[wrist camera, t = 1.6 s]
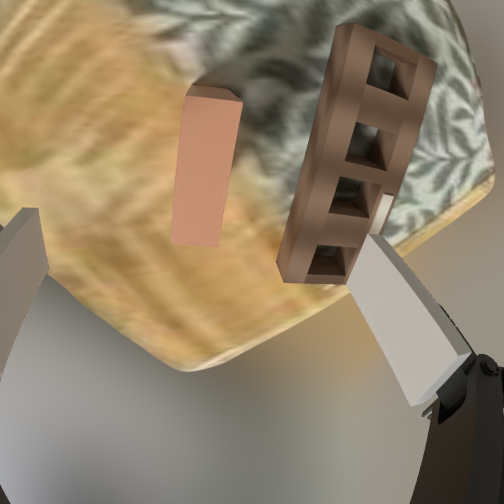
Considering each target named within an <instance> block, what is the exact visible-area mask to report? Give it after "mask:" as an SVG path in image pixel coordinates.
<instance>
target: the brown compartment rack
mask: <svg viewBox="0 0 504 504" xmlns="http://www.w3.org/2000/svg"><path fill="white" fill-rule="evenodd" d="M373 53H376V54H379V55H381V56H383V57H386V58H388V59H390V60H392V61H395V62H396V64H395V68H394V72H393V76H392V80H391V84H390V88H389V92H386V91H384V90H381V89H379V88H376V87H373V86H371V85H368V84H366V82H367V78H368V74H369V70H370V65H371V61H372V57H373ZM436 67H437V63H436V62H434V61H433V60H431V59H429V58H427V57H426V56H424V55H422V54H420V53H418V52H417V51H415V50H413V49H411V48H409V47H407V46H405V45H403V44H401V43H399V42H397V41H395V40H393V39H391V38H389V37H387V36H384V35H382V34H380V33H378V32H375V31H373V30H371V29H368V28H366V27H364V26H361V25H359V24H356V23H351V24H345V25H339V26H336V30H335V34H334V39H333V43H332V47H331V52H330V56H329V60H328V65H327V69H326V73H325V77H324V81H323V86H322V90H321V94H320V98H319V102H318V106H317V110H316V114H315V118H314V122H313V126H312V130H311V134H310V138H309V142H308V146H307V150H306V154H305V158H304V161H303V165H302V169H301V173H300V177H299V180H298V184H297V188H296V192H295V195H294V199H293V203H292V207H291V210H290V214H289V218H288V221H287V225H286V228H285V232H284V236H283V239H282V243H281V246H280V250H279V254H278V257H277V261H276V263H277V266H278V269H279V271H280V274H281V277H282V280H283V282H284V283H308V284H345V285H346V283H347V281H348V279H349V276H350V274H351V272H352V269H353V267H354V265H355V263H356V260H357V258H358V255H359V253H360V251H361V248H362V246H363V243H364V241H365V239H366V236H367V234H377V235H381V234H382V232H383V229H384V227H385V224H386V222H387V220H388V217H389V215H390V212H391V210H392V207H393V205H394V202H395V199H396V197H397V194H398V192H399V189H400V186H401V183H402V181H403V178H404V175H405V172H406V170H407V167H408V164H409V161H410V158H411V155H412V152H413V149H414V146H415V143H416V140H417V137H418V133H419V130H420V127H421V124H422V120H423V117H424V113H425V110H426V106H427V103H428V99H429V95H430V91H431V88H432V84H433V80H434V75H435V71H436ZM356 122H359V123H362V124H366V125H369V126H372V127H375V128H378V131H377V135H376V138H375V141H374V145H373V148H372V151H371V154H370V157H369V159H368V158H364V157H360V156H356V155H352V154H348V153H347V151H348V148H349V144H350V141H351V137H352V134H353V130H354V127H355V123H356ZM340 176H341V177H346V178H351V179H356V180H361V181H362V182H361V185H360V188H359V191H358V194H357V197H356V200H355V202H348V201H342V200H336V199H333V197H334V194H335V190H336V187H337V184H338V181H339V178H340ZM317 245H330V246H338V249H337V251H336V254H335V256H334V257H330V256H316V255H314V253H315V250H316V248H317Z"/></svg>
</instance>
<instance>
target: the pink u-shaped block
mask: <svg viewBox="0 0 504 504" xmlns="http://www.w3.org/2000/svg"><path fill="white" fill-rule="evenodd" d="M242 106H243V102H242V101H241V100H240V99H239V98H238V97H236V96H235V95H234V94H233V93H232V92H231V91H230V90H228V89H225V88H217V87H209V86H199V85H191V86H190V88H189V90H188V92H187V93H186V95H185V101H184V108H183V115H182V123H181V131H180V139H179V148H178V157H177V167H176V177H175V189H174V201H173V215H172V231H171V244H180V245H195V246H210V247H218V246H219V239H220V233H221V227H222V220H223V214H224V208H225V202H226V196H227V190H228V184H229V178H230V172H231V166H232V160H233V155H234V149H235V143H236V138H237V133H238V127H239V122H240V116H241V111H242Z"/></svg>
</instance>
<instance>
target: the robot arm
mask: <svg viewBox="0 0 504 504" xmlns="http://www.w3.org/2000/svg"><path fill="white" fill-rule="evenodd" d="M48 269H49V264H48V259H47V255H46V250H45V245H44V240H43V234H42V229H41V223H40V217H39V210H38V208H22V209H21V210H20V211H19V212H18V213H17V214H16V215H15V216H14V218H13V219H12V220H11V221H10V222H9V223H8V224H7V225H6V227H5V228H4V229H3V230H2V231H1V233H0V380H1V376H2V374H3V371H4V368H5V365H6V362H7V359H8V357H9V354H10V351H11V349H12V346H13V344H14V341H15V339H16V336H17V334H18V332H19V329H20V327H21V325H22V322H23V320H24V318H25V316H26V313H27V311H28V309H29V307H30V305H31V303H32V300H33V298H34V296H35V294H36V292H37V290H38V288H39V286H40V284H41V282H42V281H43V279H44V277H45V275H46V273H47V271H48ZM346 286H347V287H348V289H349V291H350V292H351V294H352V296H353V298H354V299H355V301H356V303H357V305H358V307H359V308H360V310H361V312H362V313H363V315H364V317H365V319H366V320H367V323H368V324H369V326H370V328H371V330H372V331H373V333H374V335H375V337H376V339H377V341H378V343H379V345H380V347H381V349H382V350H383V352H384V354H385V356H386V358H387V360H388V362H389V364H390V366H391V368H392V370H393V371H394V373H395V376H396V378H397V379H398V382H399V384H400V385H401V388H402V390H403V391H404V394H405V396H406V398H407V400H408V402H409V404H410V406H411V407H412V406H415V405H418V404H421V403H424V402H426V401H427V400H428V399H429V398H430V397H431V396H432V395H433V394H434V393H435V392H436V393H437V395H438V399H436V400H435V401H434V402H433V403H432V404H431V405H430V406H429V407H428V408H427V409H426V410H425V411H424V412H423V414H422V417H424V416H425V415H427V414H428V413H429V412H430V411H432V413H431V414H430V415H429V416H428V417H427V418H428V419H429V420H431V422H430V427H429V432H428V437H427V442H426V447H425V451H424V455H423V459H422V463H421V467H420V471H419V475H418V478H417V482H416V485H415V489H414V492H413V495H412V498H411V501H410V504H504V414H503V413H504V412H503V408H504V367H498V365H497V363H496V362H495V361H494V360H493V359H492V358H491V357H489V356H488V355H485V354H479V355H478V356H477V355H476V354H475V352H474V351H473V349H472V348H471V346H470V345H469V343H468V342H467V341H466V339H465V338H464V336H463V335H462V333H461V332H460V331H459V329H458V328H457V327H455V324H454V322H453V321H452V319H450V317H449V315H448V314H447V313H446V311H445V310H444V309H443V307H442V306H440V305H439V304H438V303H437V302H436V301H435V299H434V298H433V297H432V295H431V294H430V293H429V292H428V290H427V289H426V288H425V286H424V285H423V284H422V283H421V282H420V280H419V279H418V278H417V276H416V275H415V274H414V273H413V271H412V270H411V269H410V268H409V267H408V265H407V264H406V263H405V262H404V261H403V259H402V258H401V257H400V256H399V255H398V253H397V252H396V251H395V250H394V249H393V248H392V246H391V245H390V244H389V243H388V242H387V241H386V240H385V238H384V237H383V236H382V235H377V234H367V236H366V239H365V241H364V243H363V246H362V248H361V251H360V253H359V255H358V258H357V260H356V263H355V265H354V267H353V269H352V272H351V274H350V276H349V279H348V281H347V283H346ZM0 504H10V502H9V500H8V499H7V497H6V495H5V493H4V491H3V489H2V487H1V485H0Z"/></svg>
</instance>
